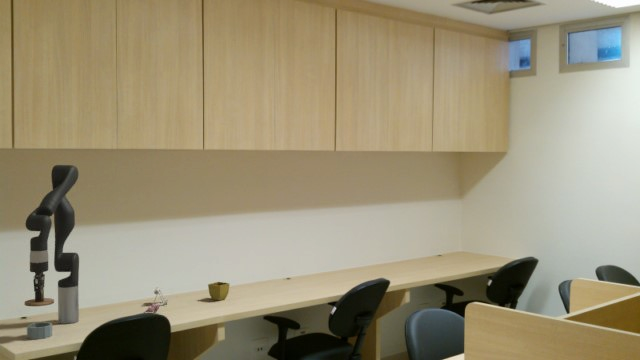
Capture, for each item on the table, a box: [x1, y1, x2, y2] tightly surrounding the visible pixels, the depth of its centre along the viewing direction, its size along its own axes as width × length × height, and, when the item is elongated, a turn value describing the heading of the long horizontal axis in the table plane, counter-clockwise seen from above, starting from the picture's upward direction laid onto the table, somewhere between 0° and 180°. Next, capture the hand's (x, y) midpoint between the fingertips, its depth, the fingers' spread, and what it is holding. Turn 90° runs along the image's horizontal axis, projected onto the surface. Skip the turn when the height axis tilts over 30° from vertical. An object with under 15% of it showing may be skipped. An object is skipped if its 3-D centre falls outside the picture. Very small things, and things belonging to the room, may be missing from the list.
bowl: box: [26, 321, 53, 340], centre depth 290 cm, size 10×10×5 cm
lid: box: [24, 288, 55, 307], centre depth 289 cm, size 12×12×6 cm
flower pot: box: [207, 281, 230, 301], centre depth 366 cm, size 9×9×9 cm
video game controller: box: [143, 303, 160, 314], centre depth 328 cm, size 10×5×7 cm, turn 170°
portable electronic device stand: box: [152, 287, 169, 306], centre depth 355 cm, size 9×8×8 cm
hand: (39, 299), depth 289 cm, fingers closed on lid, 3 cm apart
